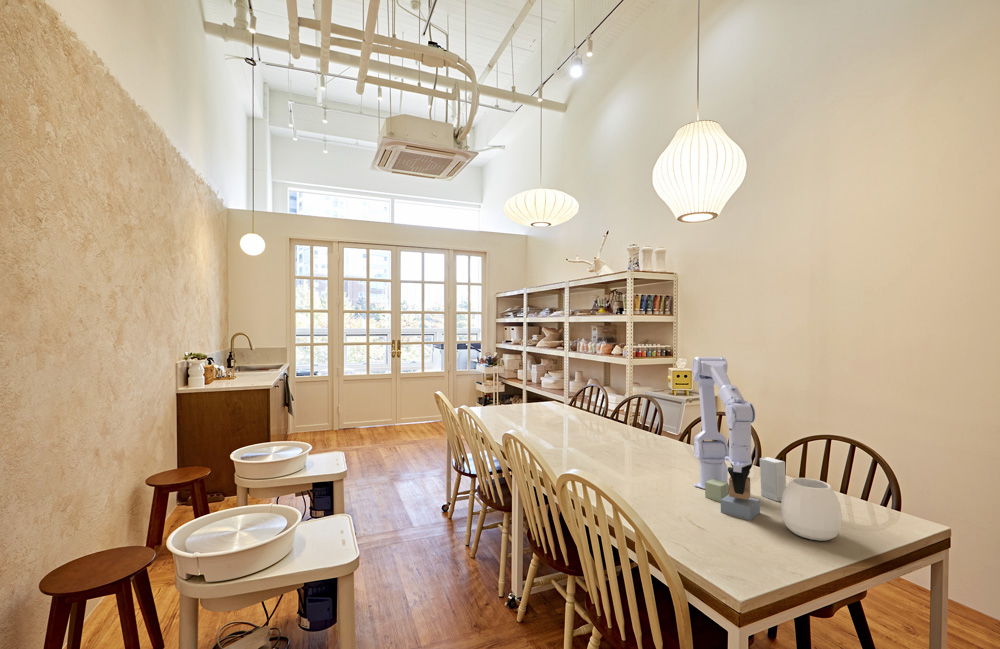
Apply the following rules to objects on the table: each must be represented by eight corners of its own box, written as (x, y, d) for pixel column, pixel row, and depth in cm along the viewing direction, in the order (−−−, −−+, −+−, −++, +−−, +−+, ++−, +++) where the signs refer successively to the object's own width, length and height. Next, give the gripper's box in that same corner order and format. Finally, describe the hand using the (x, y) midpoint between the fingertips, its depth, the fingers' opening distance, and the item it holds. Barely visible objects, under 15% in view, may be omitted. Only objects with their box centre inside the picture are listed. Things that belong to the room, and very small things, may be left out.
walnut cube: (731, 491, 139) (731, 474, 139) (750, 494, 136) (750, 477, 136) (729, 496, 135) (729, 479, 135) (748, 499, 132) (748, 482, 132)
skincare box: (787, 500, 145) (787, 461, 145) (776, 502, 144) (776, 463, 144) (769, 493, 151) (769, 456, 151) (759, 495, 149) (759, 457, 149)
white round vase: (844, 551, 112) (844, 495, 112) (780, 538, 119) (780, 485, 119) (839, 530, 124) (839, 480, 124) (781, 519, 131) (781, 471, 131)
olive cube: (713, 494, 151) (713, 478, 151) (728, 498, 147) (728, 482, 147) (705, 497, 148) (705, 482, 148) (720, 502, 144) (720, 486, 144)
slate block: (731, 506, 141) (731, 492, 141) (759, 513, 136) (759, 500, 136) (720, 513, 136) (720, 499, 136) (750, 521, 130) (750, 507, 130)
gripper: (728, 437, 144) (728, 481, 144) (721, 447, 132) (721, 495, 132) (754, 440, 140) (754, 485, 140) (749, 451, 128) (749, 500, 128)
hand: (740, 490), depth 136 cm, fingers closed on walnut cube, 5 cm apart
